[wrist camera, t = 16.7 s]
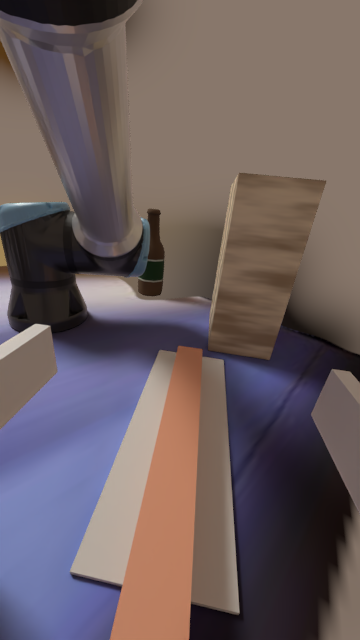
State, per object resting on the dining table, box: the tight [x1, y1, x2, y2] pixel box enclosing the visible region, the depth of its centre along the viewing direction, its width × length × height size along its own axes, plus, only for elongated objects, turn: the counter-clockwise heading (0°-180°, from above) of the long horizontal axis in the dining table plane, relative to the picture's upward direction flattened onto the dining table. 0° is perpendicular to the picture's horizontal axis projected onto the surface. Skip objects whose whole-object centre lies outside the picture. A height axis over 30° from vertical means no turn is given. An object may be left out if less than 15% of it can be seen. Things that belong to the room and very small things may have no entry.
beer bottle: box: [138, 209, 164, 296], centre depth 69 cm, size 8×8×24 cm
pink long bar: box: [110, 346, 203, 640], centre depth 25 cm, size 30×4×4 cm, turn 173°
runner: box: [70, 350, 239, 615], centre depth 30 cm, size 30×12×1 cm, turn 172°
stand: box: [208, 173, 326, 360], centre depth 47 cm, size 18×12×30 cm, turn 172°
